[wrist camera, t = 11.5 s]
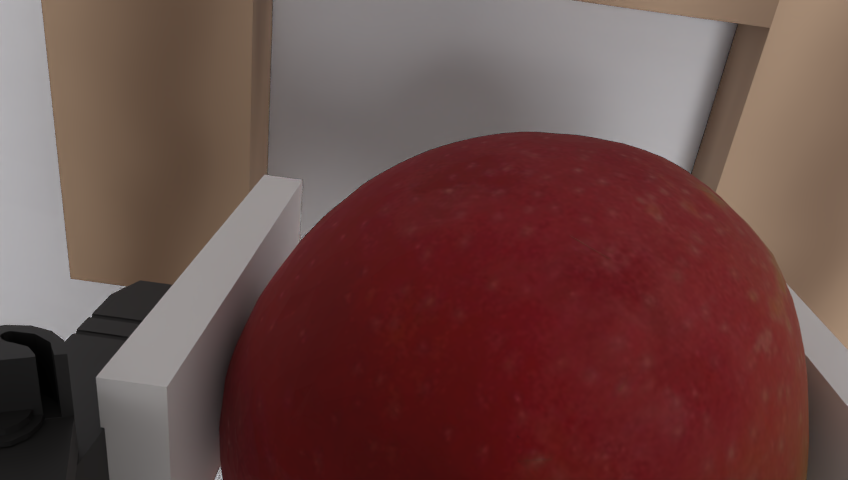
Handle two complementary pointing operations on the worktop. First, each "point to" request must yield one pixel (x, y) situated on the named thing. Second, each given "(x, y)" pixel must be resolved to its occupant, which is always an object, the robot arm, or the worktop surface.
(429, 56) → the worktop surface
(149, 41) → the notched board
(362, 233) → the apple
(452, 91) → the worktop surface
